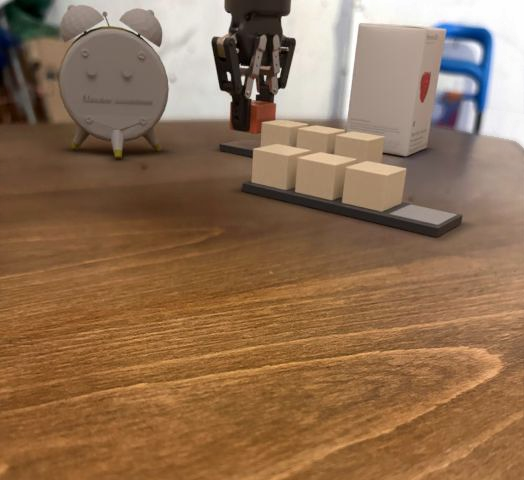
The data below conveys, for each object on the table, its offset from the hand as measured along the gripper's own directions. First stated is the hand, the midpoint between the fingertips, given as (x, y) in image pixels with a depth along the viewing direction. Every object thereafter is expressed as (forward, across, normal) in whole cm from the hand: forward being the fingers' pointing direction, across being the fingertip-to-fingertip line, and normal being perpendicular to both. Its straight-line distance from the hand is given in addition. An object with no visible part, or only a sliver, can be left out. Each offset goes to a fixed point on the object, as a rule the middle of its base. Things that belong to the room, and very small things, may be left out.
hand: (252, 127), depth 81 cm
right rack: (+3, -14, -21) cm, 26 cm away
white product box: (+3, +17, -10) cm, 20 cm away
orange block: (0, 0, 0) cm, 0 cm away
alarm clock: (+3, -14, +9) cm, 17 cm away
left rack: (+3, 0, -7) cm, 8 cm away
